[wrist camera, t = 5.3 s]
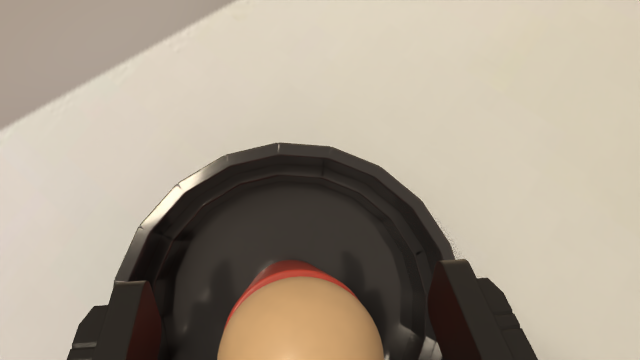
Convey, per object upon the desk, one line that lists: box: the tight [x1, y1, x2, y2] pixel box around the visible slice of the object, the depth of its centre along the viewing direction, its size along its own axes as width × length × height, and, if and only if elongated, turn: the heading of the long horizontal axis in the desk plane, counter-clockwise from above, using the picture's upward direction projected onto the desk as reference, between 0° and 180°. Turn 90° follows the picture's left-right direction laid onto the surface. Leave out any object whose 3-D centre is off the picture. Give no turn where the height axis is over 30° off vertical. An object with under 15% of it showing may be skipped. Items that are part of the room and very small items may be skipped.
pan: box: [113, 143, 455, 360], centre depth 20 cm, size 13×13×4 cm
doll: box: [217, 260, 384, 360], centre depth 15 cm, size 4×4×12 cm
